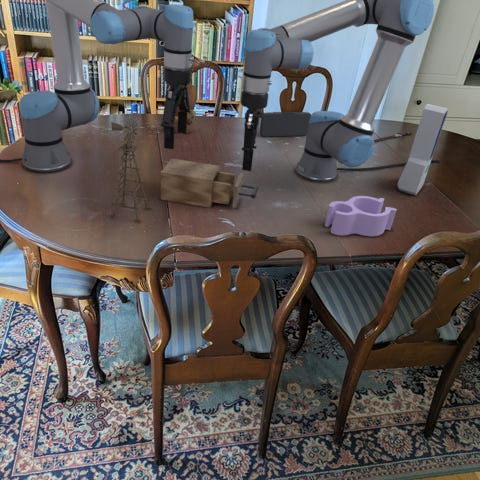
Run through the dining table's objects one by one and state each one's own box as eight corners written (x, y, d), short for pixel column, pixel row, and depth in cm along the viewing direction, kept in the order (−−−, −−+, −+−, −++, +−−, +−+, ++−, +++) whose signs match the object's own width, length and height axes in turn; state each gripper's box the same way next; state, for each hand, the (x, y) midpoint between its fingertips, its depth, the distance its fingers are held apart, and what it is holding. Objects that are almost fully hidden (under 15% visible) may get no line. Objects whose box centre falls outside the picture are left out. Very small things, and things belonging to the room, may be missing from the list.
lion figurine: (193, 128, 201) (194, 107, 196) (196, 133, 197) (197, 112, 192) (159, 129, 196) (159, 108, 192) (162, 134, 192) (162, 112, 187)
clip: (337, 240, 135) (342, 219, 131) (318, 218, 145) (322, 198, 141) (395, 233, 141) (402, 213, 137) (373, 213, 151) (378, 194, 147)
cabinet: (218, 192, 154) (220, 165, 149) (210, 207, 144) (212, 180, 139) (171, 184, 155) (171, 158, 150) (160, 199, 146) (160, 171, 141)
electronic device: (415, 196, 164) (443, 113, 148) (394, 190, 167) (419, 107, 151) (423, 185, 173) (451, 105, 157) (404, 179, 176) (428, 100, 160)
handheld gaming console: (306, 133, 210) (309, 111, 204) (308, 135, 207) (312, 113, 202) (258, 134, 202) (261, 112, 197) (260, 137, 200) (263, 114, 195)
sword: (407, 132, 223) (408, 129, 223) (413, 134, 221) (413, 131, 221) (364, 143, 208) (365, 141, 207) (370, 146, 206) (370, 143, 205)
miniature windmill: (137, 222, 133) (134, 119, 117) (109, 216, 134) (102, 114, 118) (149, 207, 141) (147, 109, 125) (122, 202, 142) (117, 104, 126)
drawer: (257, 197, 151) (260, 176, 147) (253, 211, 143) (256, 189, 139) (197, 187, 153) (198, 166, 149) (189, 200, 145) (190, 178, 141)
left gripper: (178, 80, 118) (175, 157, 130) (201, 60, 139) (198, 128, 151) (149, 76, 119) (149, 153, 131) (177, 56, 140) (175, 125, 151)
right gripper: (265, 99, 123) (255, 180, 136) (271, 87, 134) (261, 163, 147) (237, 95, 124) (230, 176, 137) (245, 83, 135) (238, 159, 147)
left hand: (175, 140), depth 141 cm, fingers open, 13 cm apart
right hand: (246, 169), depth 142 cm, fingers closed
